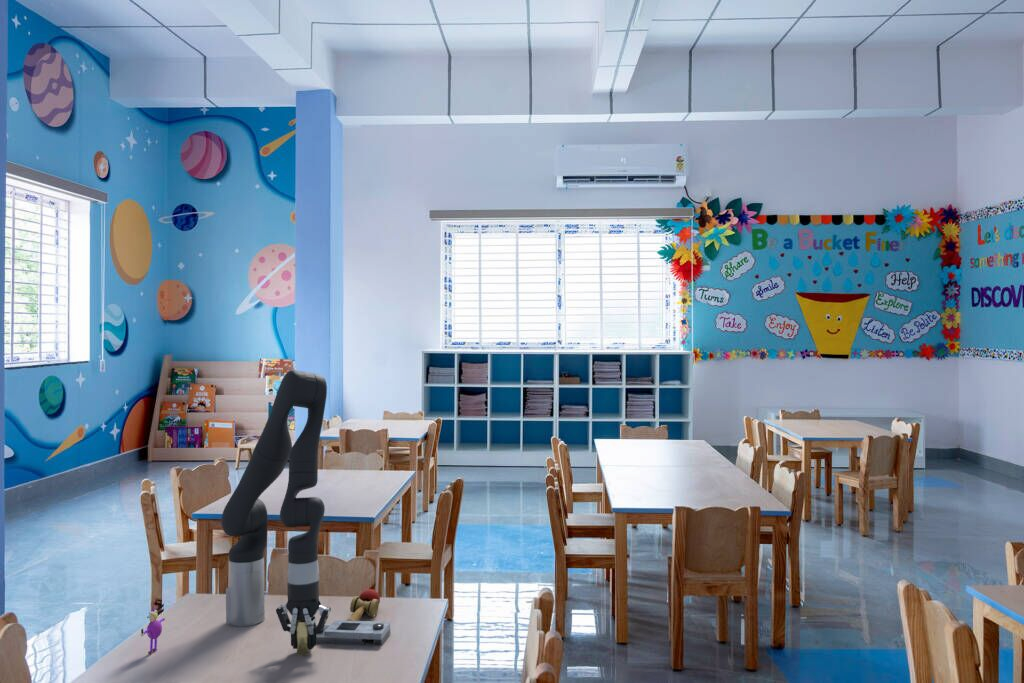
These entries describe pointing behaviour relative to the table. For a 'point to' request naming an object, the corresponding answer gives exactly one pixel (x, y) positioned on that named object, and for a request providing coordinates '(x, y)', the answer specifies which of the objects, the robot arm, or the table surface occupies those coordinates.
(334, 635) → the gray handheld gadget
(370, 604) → the kendama
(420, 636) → the table surface
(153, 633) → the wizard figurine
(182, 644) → the table surface
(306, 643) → the brass pin
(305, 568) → the robot arm
